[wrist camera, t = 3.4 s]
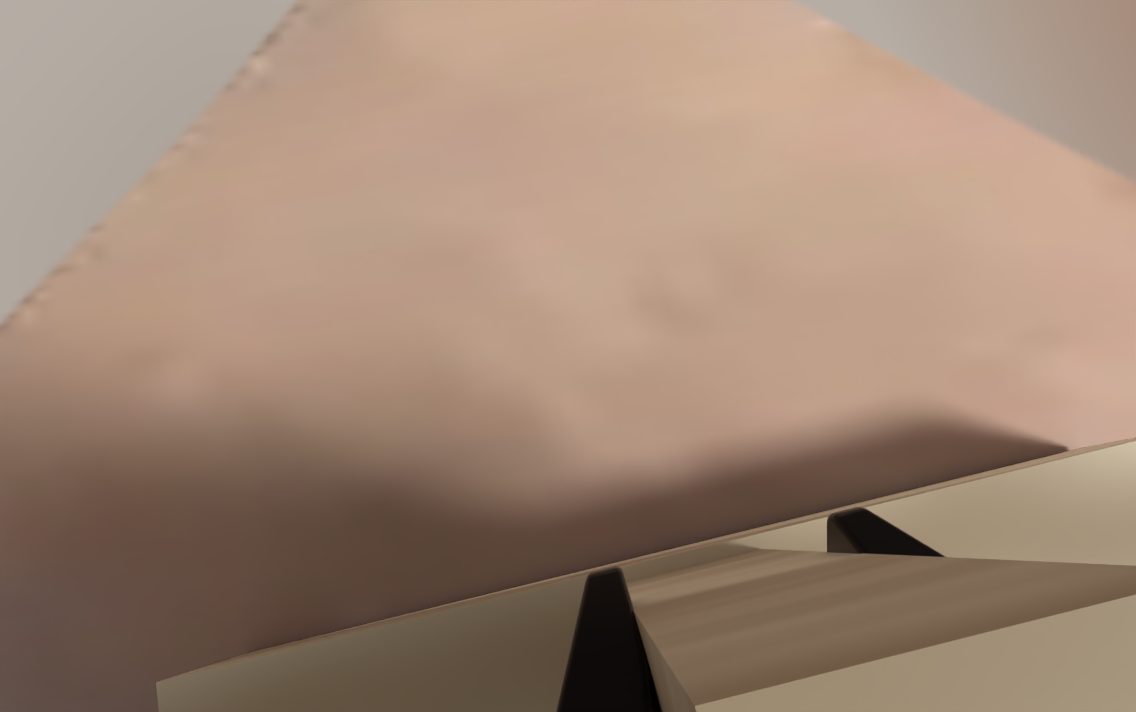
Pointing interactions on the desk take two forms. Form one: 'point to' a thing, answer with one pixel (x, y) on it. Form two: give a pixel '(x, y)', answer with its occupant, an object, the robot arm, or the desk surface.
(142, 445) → the desk surface
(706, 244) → the desk surface
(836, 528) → the robot arm
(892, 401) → the desk surface
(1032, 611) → the t bar
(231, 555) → the desk surface
